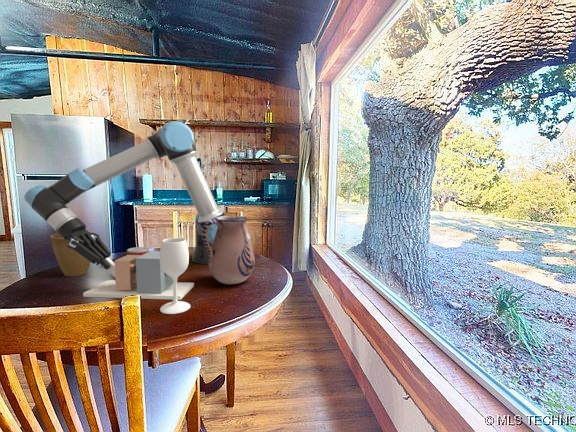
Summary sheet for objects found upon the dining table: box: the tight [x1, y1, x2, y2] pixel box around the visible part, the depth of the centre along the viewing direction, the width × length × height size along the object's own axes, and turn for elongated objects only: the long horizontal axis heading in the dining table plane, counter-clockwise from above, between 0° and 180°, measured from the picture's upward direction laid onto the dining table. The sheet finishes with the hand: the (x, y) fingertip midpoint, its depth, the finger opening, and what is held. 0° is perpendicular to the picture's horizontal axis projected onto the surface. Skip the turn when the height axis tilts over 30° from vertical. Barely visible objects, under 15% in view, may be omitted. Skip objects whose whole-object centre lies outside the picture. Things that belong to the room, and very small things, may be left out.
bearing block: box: [82, 250, 195, 301], centre depth 103 cm, size 32×13×13 cm, turn 89°
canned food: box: [126, 246, 150, 255], centre depth 119 cm, size 8×8×11 cm
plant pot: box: [50, 231, 97, 277], centre depth 120 cm, size 15×15×16 cm
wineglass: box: [159, 237, 191, 315], centre depth 89 cm, size 9×9×21 cm
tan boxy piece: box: [114, 255, 142, 290], centre depth 103 cm, size 20×8×10 cm, turn 89°
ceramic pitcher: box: [202, 215, 256, 285], centre depth 114 cm, size 18×21×25 cm
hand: (118, 273), depth 103 cm, fingers closed
